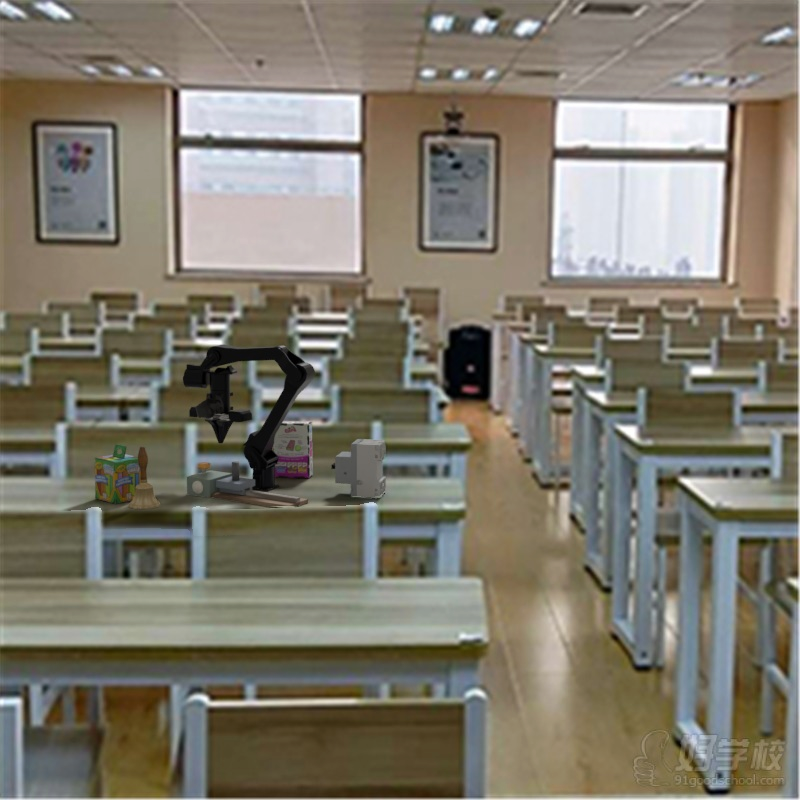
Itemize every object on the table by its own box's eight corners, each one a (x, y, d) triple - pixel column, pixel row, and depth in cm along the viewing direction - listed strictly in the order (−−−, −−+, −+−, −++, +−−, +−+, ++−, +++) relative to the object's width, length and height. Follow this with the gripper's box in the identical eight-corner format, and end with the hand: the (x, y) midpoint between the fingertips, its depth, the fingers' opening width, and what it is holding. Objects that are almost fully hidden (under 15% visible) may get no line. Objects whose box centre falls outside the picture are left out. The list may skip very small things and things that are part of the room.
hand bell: (152, 510, 306) (151, 450, 303) (123, 508, 307) (121, 448, 305) (165, 502, 314) (164, 444, 311) (136, 501, 315) (135, 443, 313)
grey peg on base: (232, 487, 326) (231, 458, 325) (255, 491, 322) (255, 461, 321) (216, 492, 320) (215, 462, 319) (239, 496, 316) (239, 466, 315)
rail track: (231, 491, 328) (231, 483, 327) (308, 502, 315) (308, 494, 315) (210, 497, 320) (210, 489, 320) (288, 509, 307) (288, 501, 307)
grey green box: (210, 487, 332) (210, 470, 331) (232, 490, 328) (232, 473, 328) (186, 494, 323) (185, 476, 323) (208, 498, 319) (208, 480, 319)
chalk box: (94, 499, 317) (92, 445, 315) (122, 493, 324) (120, 441, 322) (115, 504, 311) (113, 450, 309) (143, 498, 318) (142, 445, 316)
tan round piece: (203, 470, 329) (203, 461, 328) (213, 471, 327) (213, 463, 326) (194, 472, 325) (194, 464, 325) (204, 474, 324) (204, 465, 323)
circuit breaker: (336, 490, 330) (336, 437, 328) (385, 492, 327) (385, 440, 325) (329, 496, 323) (329, 442, 321) (379, 498, 320) (379, 445, 318)
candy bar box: (313, 475, 350) (313, 421, 347) (309, 478, 345) (309, 423, 343) (276, 473, 351) (276, 419, 349) (272, 477, 346) (272, 422, 344)
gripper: (175, 390, 330) (176, 444, 332) (228, 395, 321) (228, 451, 323) (201, 385, 340) (202, 438, 342) (252, 390, 330) (253, 444, 333)
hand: (220, 443), depth 335 cm, fingers closed
